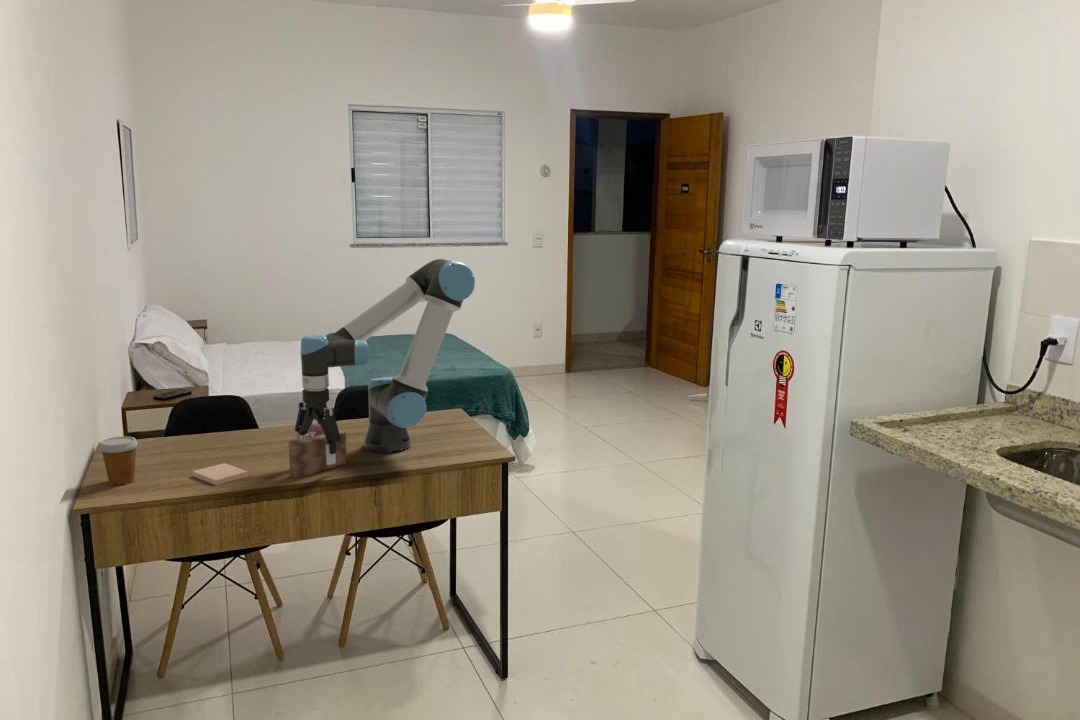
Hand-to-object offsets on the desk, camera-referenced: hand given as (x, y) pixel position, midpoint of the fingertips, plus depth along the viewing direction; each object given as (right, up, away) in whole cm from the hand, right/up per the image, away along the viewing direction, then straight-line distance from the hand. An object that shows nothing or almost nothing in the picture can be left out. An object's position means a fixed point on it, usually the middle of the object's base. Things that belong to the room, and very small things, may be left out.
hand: (318, 459), depth 236 cm
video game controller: (-10, +2, +30) cm, 32 cm away
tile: (-23, -3, -3) cm, 24 cm away
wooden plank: (0, -3, +1) cm, 3 cm away
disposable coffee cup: (-52, -5, -13) cm, 54 cm away
